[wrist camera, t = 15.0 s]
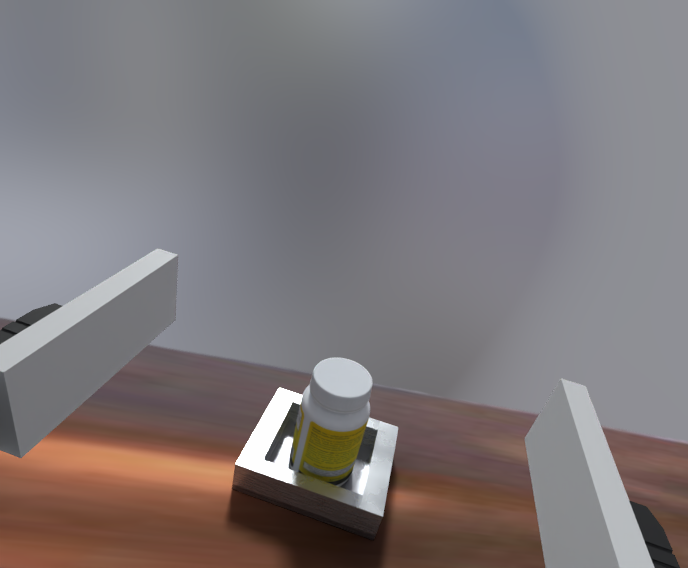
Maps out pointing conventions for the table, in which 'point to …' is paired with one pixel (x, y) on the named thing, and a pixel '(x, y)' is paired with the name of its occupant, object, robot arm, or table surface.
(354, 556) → the table surface
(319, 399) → the supplement bottle
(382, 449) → the rectangular metal tray
